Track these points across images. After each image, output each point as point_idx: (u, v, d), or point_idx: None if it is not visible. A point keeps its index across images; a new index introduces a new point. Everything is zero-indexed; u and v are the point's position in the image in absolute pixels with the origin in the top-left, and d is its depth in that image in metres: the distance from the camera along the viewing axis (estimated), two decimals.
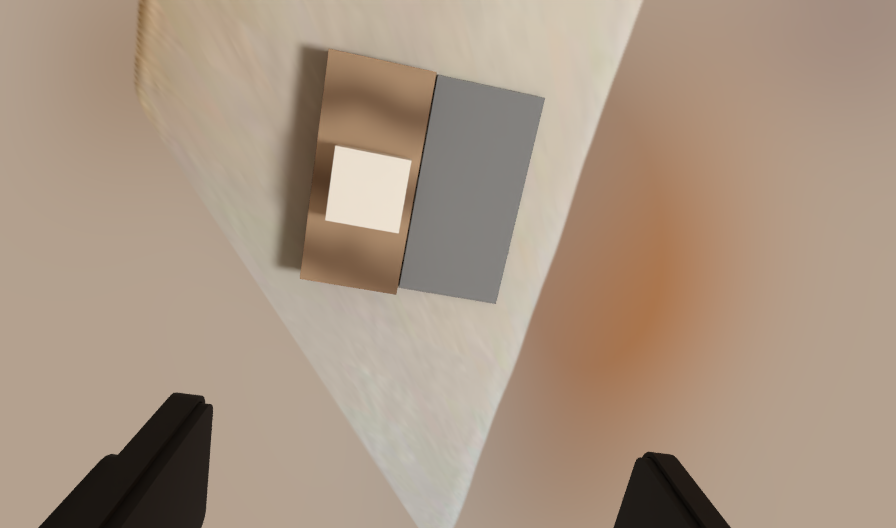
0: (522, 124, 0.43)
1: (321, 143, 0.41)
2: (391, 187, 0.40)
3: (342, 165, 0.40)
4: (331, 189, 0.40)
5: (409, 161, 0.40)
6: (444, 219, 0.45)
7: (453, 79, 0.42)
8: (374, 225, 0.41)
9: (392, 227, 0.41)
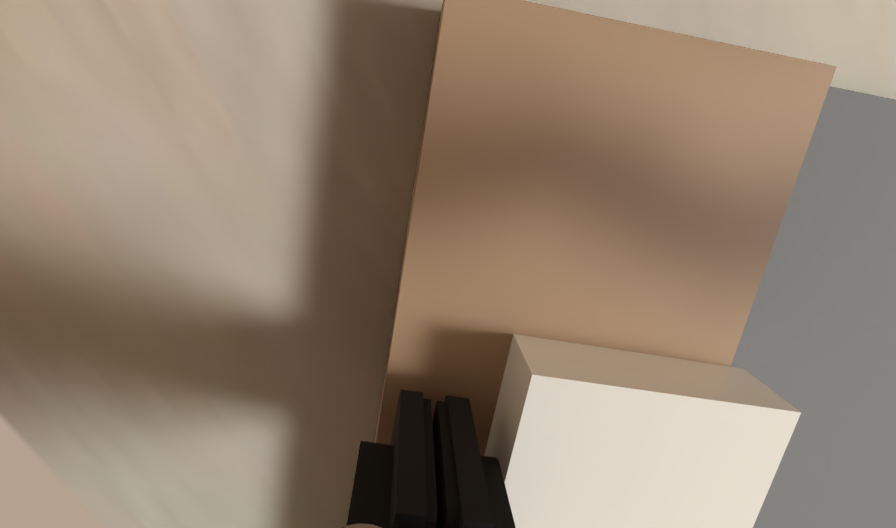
0: None
1: (410, 324, 0.12)
2: (714, 498, 0.11)
3: (552, 440, 0.11)
4: None
5: (793, 415, 0.11)
6: None
7: None
8: None
9: None
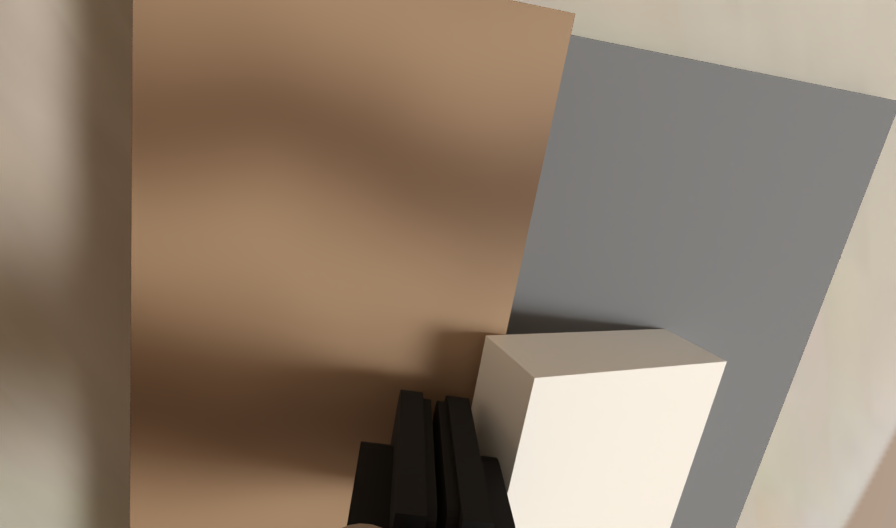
0: (817, 189, 0.14)
1: (148, 292, 0.11)
2: (668, 448, 0.13)
3: (550, 435, 0.11)
4: None
5: (722, 365, 0.13)
6: None
7: (609, 47, 0.12)
8: None
9: None
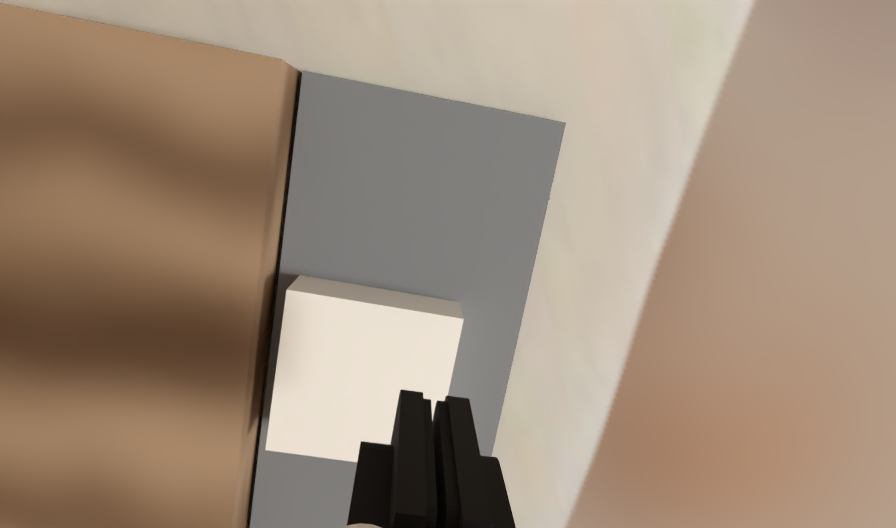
0: (513, 186, 0.18)
1: None
2: (416, 377, 0.18)
3: (304, 333, 0.17)
4: (278, 386, 0.17)
5: (459, 321, 0.17)
6: None
7: (341, 81, 0.17)
8: None
9: None
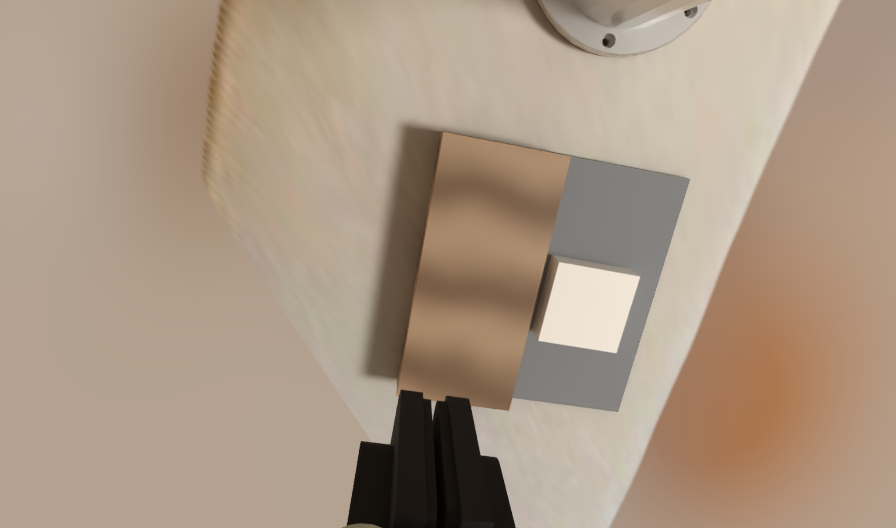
0: (661, 210, 0.36)
1: (429, 242, 0.34)
2: (614, 305, 0.36)
3: (564, 283, 0.35)
4: (549, 308, 0.36)
5: (638, 277, 0.36)
6: None
7: (583, 160, 0.35)
8: (591, 345, 0.37)
9: (610, 347, 0.37)
